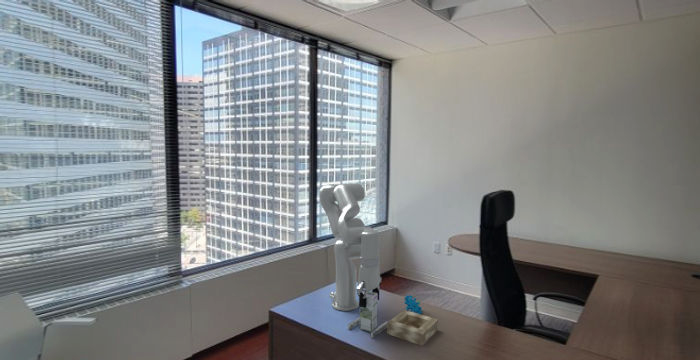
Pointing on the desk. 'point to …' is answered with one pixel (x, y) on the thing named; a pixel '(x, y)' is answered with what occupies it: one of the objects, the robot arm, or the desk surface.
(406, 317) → the beige square tray
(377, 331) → the stand rails
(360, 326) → the syrup box
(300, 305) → the desk surface
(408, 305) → the gear
